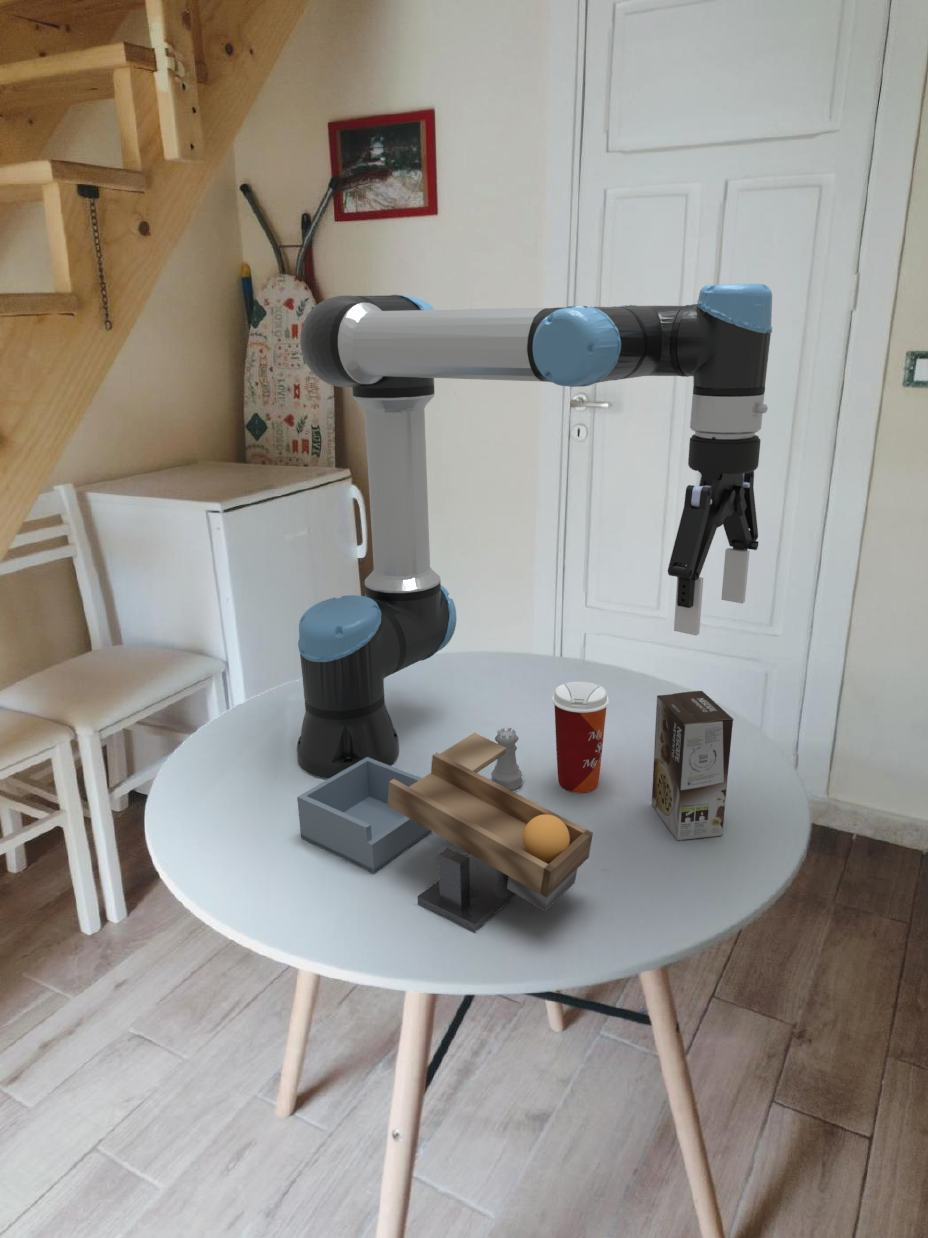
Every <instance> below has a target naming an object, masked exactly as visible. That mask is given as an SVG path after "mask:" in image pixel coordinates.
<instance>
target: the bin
mask: <svg viewBox="0 0 928 1238" xmlns="http://www.w3.org/2000/svg"><path fill="white" fill-rule="evenodd" d="M422 778H423V777H421V776H418V775H415V774H413V773H410V772H408V771H405V770H402V769H401V768H397V767H394V766H392V765H387V764H384V763H382V762H379V761H377V760H374V759H371V758H369V757H366V758H364V759H363V760H361V761H359V762H357V763H356V764H354V765H352V766H350V767H349V768H347V769H345V770H343V771H341V772H340V773H338V774H336V775H334V776H333V777H331V778H329V779H326V780H324V781H322V782H321V783H319V784H317V785H315V786H313V787H311V788H310V789H308V790H307V791H304V792H303V793H301V794H299V795H298V796H296V799H297V800H296V801H297V810H298V820H299V829H300V830H299V831H300V839H302V840H304V841H306V842H308V843H310V844H312V845H314V846H316V847H318V848H320V849H323V850H324V849H325V850H324V851H327V852H329V853H331V854H333V855H335V856H336V857H339V858H341V859H343V860H345V861H347V862H349V863H351V864H353V865H355V866H358V867H360V868H361V869H363V870H366V871H367V872H369V873H371V874H376V873H377V872H379V871H380V870H382V869H383V868H384V867H386V866H387V865H388V864H390V863H391V862H392V861H394V860H395V859H398V857H399V856H401V855H402V854H404V853H405V852H406V851H408V850H409V849H411V848H412V847H413V846H414V845H416V844H417V843H419V842H420V841H422V840H424V838H426V837H427V836H429V835H430V834H432V833H433V832H432V831H430V830H428V829H427V828H425V827H423V826H421V825H420V824H418V823H416V822H415V821H413V820H411V819H409V818H408V817H406V816H404V815H402V814H401V813H399V812H397V811H396V810H394V809H392V808H390V807H389V806H388V792H389V781H391V780H393V779H395V780H397V781H399V782H401V783H403V784H404V785H406V786H408V787H409V786H411V785H413V784H414V783H416V782H417V781H419V780H420V779H422Z"/></svg>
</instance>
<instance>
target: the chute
mask: <svg viewBox="0 0 928 1238" xmlns="http://www.w3.org/2000/svg"><path fill="white" fill-rule="evenodd" d="M505 753H506V748H505V747H503V746H501V745H499V744H498V743H497V742H496V741H493V740H491V739H489V738H487V737H485V736H482V735H481V734H478V733H476V732H473V733H471V734H470V735H468V736H467V737H465V738H462V740H460V741H458V742H457V743H455V744H453V745H452V746H450V747H449V748H447V749H446V750H444V751H442V752H440V753H439V752H435V753H433V754H432V756H431V769H430V773H428V774H427V775H425V776H424V777H421V778H422V779H420V780H419V781H417V782H416V783H414V784H413V785H411V786H409V787H408V786H406V785H404V784H403V783H401V782H399V781H397V780H395V779H393V780H391V781H389V792H388V806H389V807H390V808H392V809H394V810H396V811H397V812H399V813H401V814H402V815H404V816H406V817H408V818H409V819H411V820H413V821H415V822H416V823H418V824H420V825H421V826H423V827H425V828H427V829H428V830H430V831H432V832H431V833H434V834H435V835H437V836H438V837H440V838H442V839H444V840H446V841H448V842H449V843H451V844H452V845H454V846H455V847H457V848H458V849H459V848H460V849H461V850H463V851H465V852H466V853H468V854H469V855H470V854H471V855H473V856H475V857H477V858H478V859H480V860H482V861H484V862H485V863H487V864H489V865H490V866H492V867H494V868H496V869H497V870H499V871H501V872H502V873H504V874H506V875H508V876H509V877H508V884H507V889H508V890H510V891H512V892H513V893H515V894H517V895H516V896H518V897H520V898H522V899H524V900H526V901H527V902H529V903H530V904H532V905H534V906H536V907H537V908H539V909H541V910H543V911H544V912H546V911H547V910H549V908H550V907H552V906H553V905H554V904H555V903H556V902H557V901H558V900H559V899H560V898H561V897H562V896H563V895H564V894H565V893H566V892H567V891H568V890H569V889H570V888H571V887H572V886H573V885H574V884H575V883H576V878H577V872H578V868H579V867H581V866H582V865H583V864H584V863H585V862H586V861H587V860H588V859H589V857H590V852H591V846H592V841H593V836H594V832H593V831H590V830H588V829H586V828H584V827H582V826H580V825H579V824H577V823H574V822H573V821H571V820H569V819H567V818H566V817H563V816H561V815H559V814H558V813H556V812H553V811H552V810H550V809H547V808H546V807H544V806H542V805H540V804H538V803H536V802H534V801H532V800H530V799H529V798H526V797H524V796H522V795H520V794H519V793H516V792H515V791H513V790H509V789H507V788H505V787H503V786H501V785H499V784H497V783H495V782H493V781H491V779H489V778H487V777H485V776H483V775H481V773H479V772H480V771H482V770H483V769H485V768H486V767H488V766H489V765H492V763H494V762H495V761H497V759H498V758H500V757H501V756H503V755H504V754H505ZM544 814H547V815H553V816H555V817H557V818H559V819H560V820H561V821H563V823H564V824H565V825H566V827H567V829H568V831H569V836H570V843H569V846H568V847H567V848H566V849H565V850H564V851H563V852H562V853H560V854H559V855H558V856H557V857H556V858H555V859H554V860H553V861H552V862H549V863H545V862H543V861H541V860H540V859H538V858H536V857H534V856H532V855H531V854H529V853H528V852H527V851H526V849H525V847H524V844H523V832H524V829H525V827H526V825H527V824H528V822H529V821H530V820H531V819H533V818H534V817H536V816H539V815H544Z"/></svg>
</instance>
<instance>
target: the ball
mask: <svg viewBox="0 0 928 1238" xmlns="http://www.w3.org/2000/svg"><path fill="white" fill-rule="evenodd" d="M569 843H570V836H569V831H568V829H567V827H566V825H565V824H564V823H563V821H561V820H560V819H559V818H557V817H555V816H553V815H547V814H544V815H539V816H536V817H534V818H533V819H531V820H530V821H529V822H528V824H527V825H526V827H525V829H524V832H523V844H524V847H525V849H526V851H527V852H528V853H529V854H531V855H532V856H534V857H536V858H538V859H540V860H541V861H543V862H545V863H549V862H552V861H553V860H554V859H555V858H556V857H557V856H558V855H559V854H560V853H562V852H563V851H564V850H565V849H566V848H567V847H568V846H569Z"/></svg>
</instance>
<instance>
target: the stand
mask: <svg viewBox="0 0 928 1238" xmlns="http://www.w3.org/2000/svg"><path fill="white" fill-rule="evenodd" d="M437 856H438V857H437V858H438V880H436V881H435V882H433V883H432V885H430V886H429V887H428V888H426V889H424V891H422V892H421V893H420V894H418V895H417V904H418V905H419V906H421V907H423V908H425V909H427V910H429V911H431V912H433V913H436V914H437V915H439V916H441V917H444V918H445V919H447V920H450V921H451V922H453V923H455V924H457V925H460V926H462V927H464V928H466V929H467V930H470V931H472V932H474V933H476V932H477V931H478V930H479V929H480V928H481V927H482V926H483V925H484V924H486V923H487V922H488V921H489V920H490V919H492V917H494V916H495V915H496V914H497V913H498V912H499V911H500V910H501V909H502V908H504V906H505V905H507V904H508V903H509V902H510V901H511V900H512V899H513V898H515V896H518V895H517V894H515V893H513V892H512V891H510V890H508V889H507V884H508V877H509V876H508V875H506V874H504V873H502V872H501V871H499V870H497V869H496V868H494V867H492V866H490V865H489V864H487V863H485V862H484V861H482V860H480V859H478V858H477V857H475V856H473V855H471V854H470V853H469V855H466V854H464V853H461V852H459V851H457V850H454V849H453V848H449V847H446V848H445V849H443V850H442V851H441V852H440V853H438V855H437Z"/></svg>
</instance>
